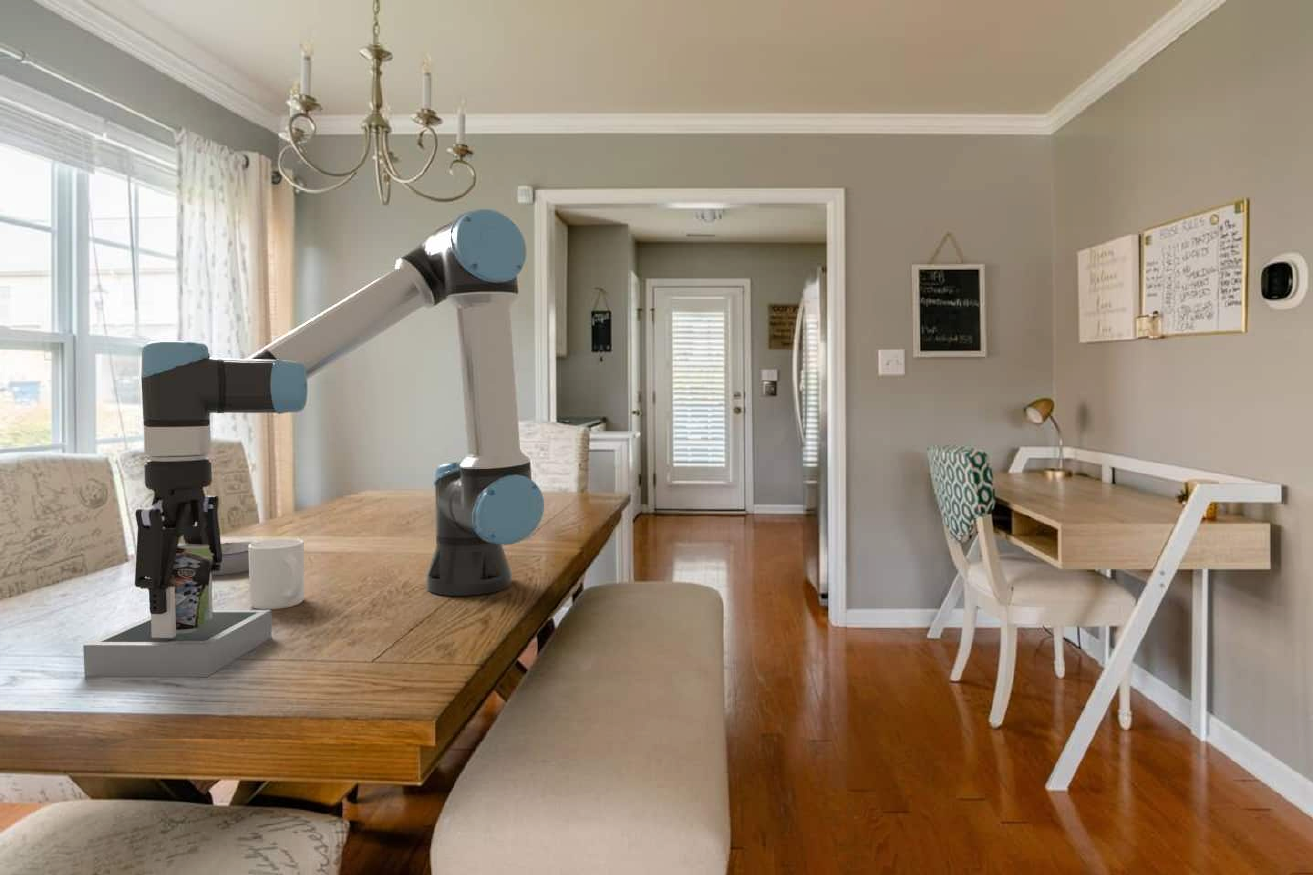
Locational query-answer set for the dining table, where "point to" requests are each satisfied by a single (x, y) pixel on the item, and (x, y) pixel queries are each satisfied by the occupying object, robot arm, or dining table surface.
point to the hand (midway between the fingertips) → (183, 627)
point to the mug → (276, 573)
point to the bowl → (234, 558)
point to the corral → (177, 647)
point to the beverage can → (191, 585)
